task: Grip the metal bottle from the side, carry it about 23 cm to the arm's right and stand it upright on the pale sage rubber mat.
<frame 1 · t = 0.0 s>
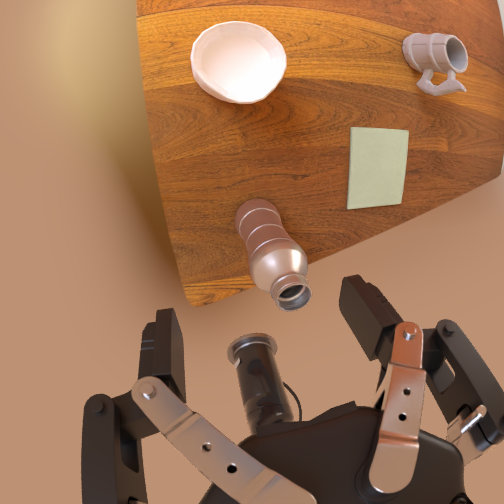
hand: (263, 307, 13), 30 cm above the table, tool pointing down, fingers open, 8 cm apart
mat: (378, 168, 43), on the table
cup: (228, 69, 32), on the table
mug: (415, 62, 34), on the table
metal bottle: (253, 213, 44), on the table
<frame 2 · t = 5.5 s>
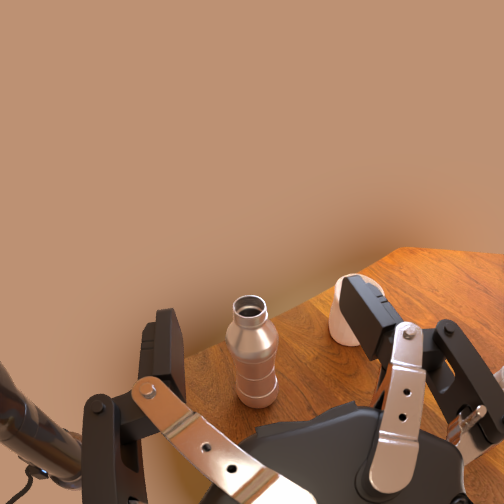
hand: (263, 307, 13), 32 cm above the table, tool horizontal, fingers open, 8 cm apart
cup: (349, 329, 51), on the table
mug: (478, 415, 29), on the table
metal bottle: (257, 395, 41), on the table
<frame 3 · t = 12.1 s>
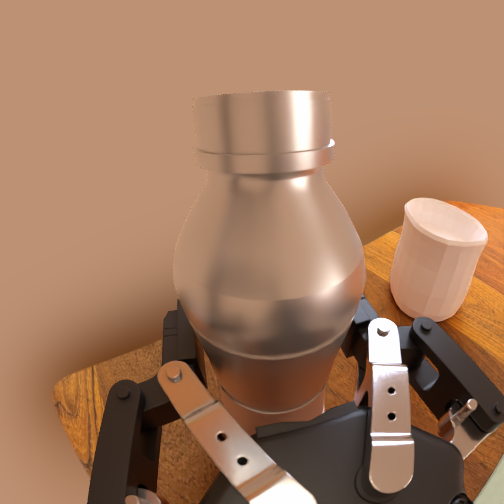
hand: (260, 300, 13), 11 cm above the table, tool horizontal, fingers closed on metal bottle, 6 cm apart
cup: (422, 296, 28), on the table
metal bottle: (273, 433, 17), on the table, touching gripper
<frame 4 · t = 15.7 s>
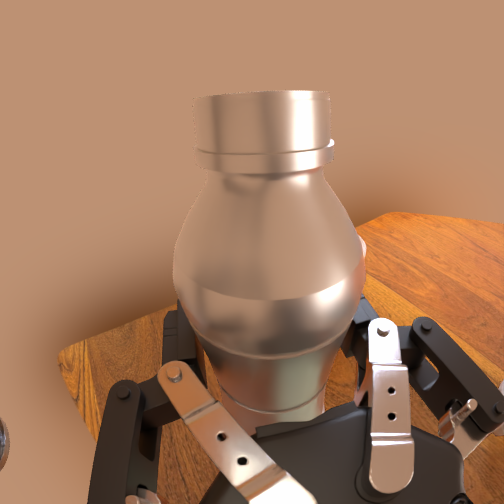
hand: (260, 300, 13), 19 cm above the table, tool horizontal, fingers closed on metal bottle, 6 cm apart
metal bottle: (273, 432, 17), point 7 cm above the table, touching gripper
when the fingers open (12 cm above the table, at t = 19.6 s): metal bottle stays where it is, resting on mat.
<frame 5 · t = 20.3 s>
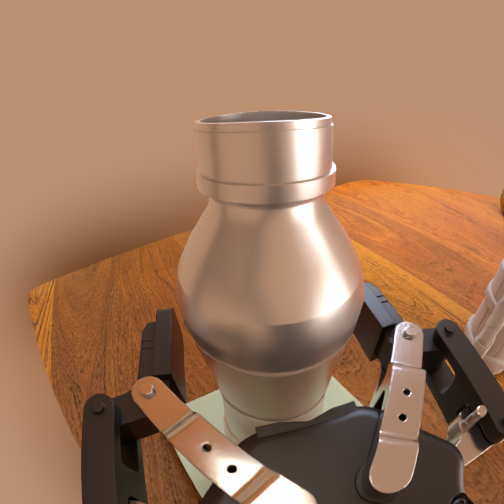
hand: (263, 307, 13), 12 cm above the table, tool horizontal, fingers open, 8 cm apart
mat: (274, 437, 18), on the table
mug: (477, 359, 20), on the table
metal bottle: (273, 437, 17), resting on mat
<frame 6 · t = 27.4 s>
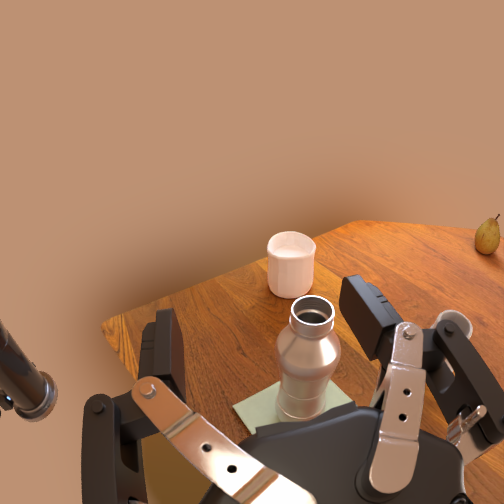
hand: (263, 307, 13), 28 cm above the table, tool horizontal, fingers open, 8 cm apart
mat: (298, 413, 34), on the table
fruit: (483, 251, 63), on the table
cup: (289, 285, 58), on the table
mug: (424, 372, 36), on the table
metal bottle: (298, 413, 34), resting on mat
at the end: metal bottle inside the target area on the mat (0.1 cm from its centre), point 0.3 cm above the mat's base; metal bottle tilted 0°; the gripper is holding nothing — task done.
